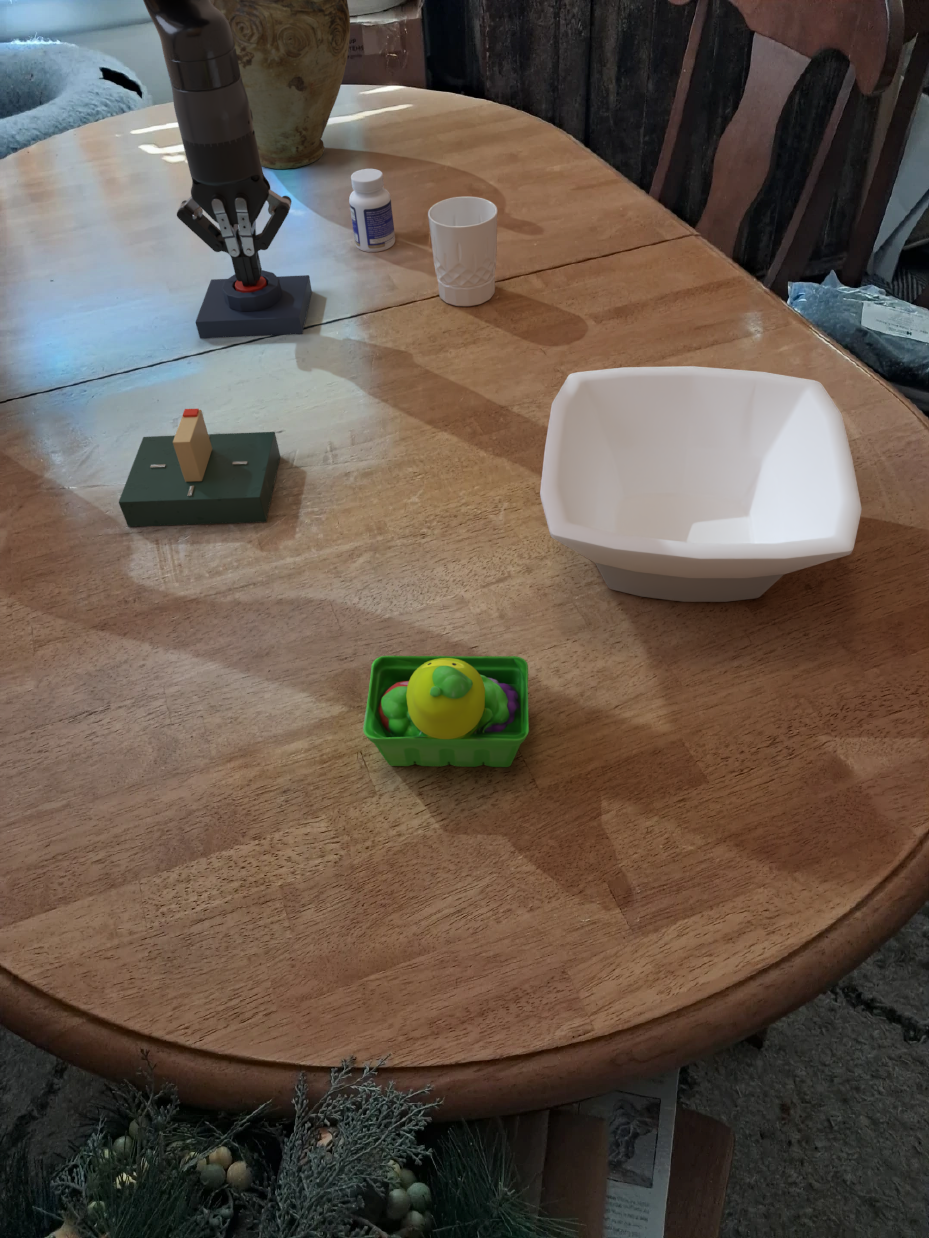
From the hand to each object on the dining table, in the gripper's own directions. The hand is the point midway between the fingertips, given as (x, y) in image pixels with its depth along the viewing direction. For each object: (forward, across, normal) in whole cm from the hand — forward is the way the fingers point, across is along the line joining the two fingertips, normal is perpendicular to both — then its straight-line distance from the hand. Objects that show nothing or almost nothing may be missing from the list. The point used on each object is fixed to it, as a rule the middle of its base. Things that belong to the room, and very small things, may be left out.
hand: (251, 282), depth 115 cm
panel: (+4, 0, -33) cm, 33 cm away
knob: (+1, 0, -33) cm, 33 cm away
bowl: (+4, +44, -43) cm, 61 cm away
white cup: (+4, +25, +3) cm, 25 cm away
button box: (+4, 0, 0) cm, 4 cm away
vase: (+4, -2, +47) cm, 47 cm away
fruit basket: (+4, +24, -64) cm, 68 cm away
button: (+2, 0, 0) cm, 2 cm away
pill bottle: (+4, +13, +17) cm, 22 cm away
